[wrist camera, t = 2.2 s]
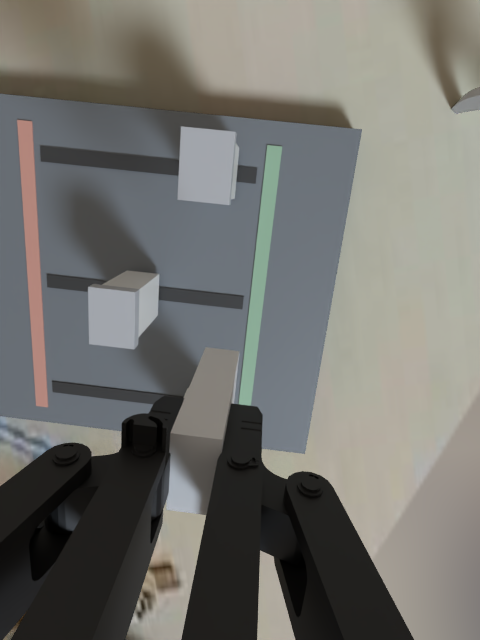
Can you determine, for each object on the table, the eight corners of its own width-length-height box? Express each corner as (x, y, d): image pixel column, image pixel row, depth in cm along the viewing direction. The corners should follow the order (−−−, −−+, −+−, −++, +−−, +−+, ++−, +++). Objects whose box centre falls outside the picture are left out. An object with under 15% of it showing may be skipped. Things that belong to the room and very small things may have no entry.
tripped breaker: (123, 314, 31) (89, 344, 25) (124, 267, 29) (88, 286, 23) (160, 318, 30) (134, 349, 24) (162, 271, 29) (135, 292, 23)
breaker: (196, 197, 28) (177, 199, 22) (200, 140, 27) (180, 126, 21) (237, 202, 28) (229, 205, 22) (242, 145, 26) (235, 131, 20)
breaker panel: (-5, 402, 37) (-20, 414, 35) (-36, 94, 29) (-58, 87, 27) (302, 439, 36) (304, 454, 34) (355, 133, 28) (362, 129, 26)
